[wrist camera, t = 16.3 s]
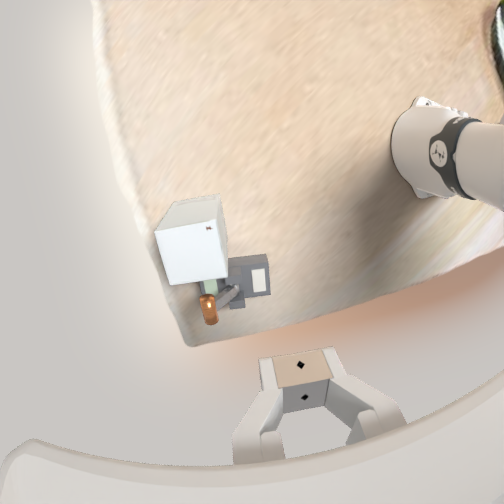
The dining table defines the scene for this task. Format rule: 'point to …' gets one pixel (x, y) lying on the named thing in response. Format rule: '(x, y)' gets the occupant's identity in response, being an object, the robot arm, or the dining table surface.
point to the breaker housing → (242, 279)
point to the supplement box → (194, 240)
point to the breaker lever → (217, 303)
